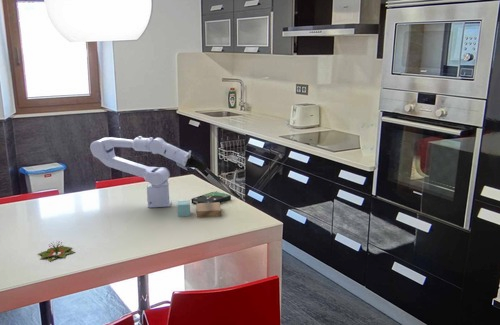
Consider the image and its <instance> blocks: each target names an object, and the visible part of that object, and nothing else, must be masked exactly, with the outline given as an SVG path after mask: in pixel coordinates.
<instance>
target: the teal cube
mask: <svg viewBox="0 0 500 325" xmlns="http://www.w3.org/2000/svg"><path fill="white" fill-rule="evenodd" d="M190 200H191V199H189V200H178V201H177V202H176V203H177V205H176V206H177V208H176V209H177V217H190V216H191V201H190Z"/></svg>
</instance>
